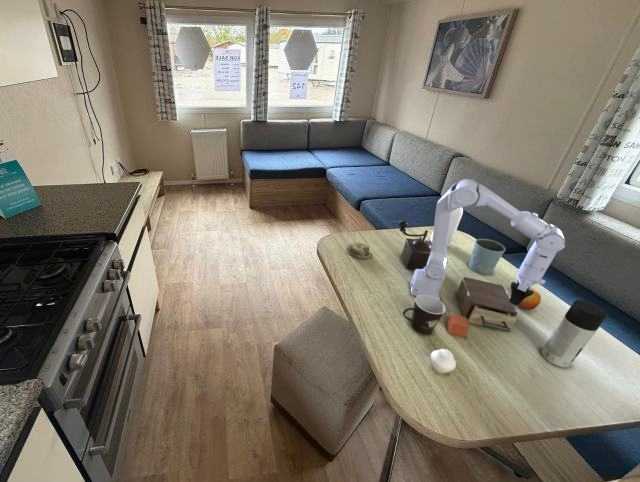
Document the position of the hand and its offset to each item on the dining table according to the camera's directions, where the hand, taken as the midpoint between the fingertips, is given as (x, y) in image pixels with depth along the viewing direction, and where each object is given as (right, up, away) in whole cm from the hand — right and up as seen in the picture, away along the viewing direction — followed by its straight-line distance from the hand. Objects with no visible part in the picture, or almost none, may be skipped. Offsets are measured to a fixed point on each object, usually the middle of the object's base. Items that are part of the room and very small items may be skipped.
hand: (516, 298), depth 100 cm
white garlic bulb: (-33, -17, -13) cm, 39 cm away
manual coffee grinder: (-18, +7, +34) cm, 39 cm away
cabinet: (-5, -6, +9) cm, 12 cm away
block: (-20, -10, 0) cm, 22 cm away
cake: (-38, +11, +39) cm, 56 cm away
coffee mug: (-32, -10, +1) cm, 33 cm away
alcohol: (+4, +15, +49) cm, 51 cm away
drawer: (-7, -8, +4) cm, 11 cm away
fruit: (+12, -5, +12) cm, 17 cm away
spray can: (+4, -16, -8) cm, 19 cm away
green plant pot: (+10, +5, +31) cm, 33 cm away
